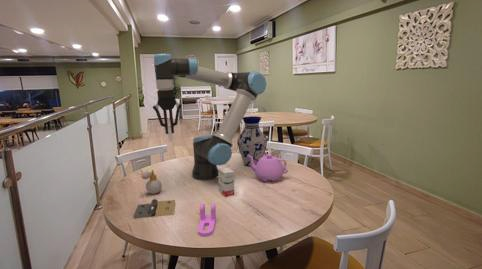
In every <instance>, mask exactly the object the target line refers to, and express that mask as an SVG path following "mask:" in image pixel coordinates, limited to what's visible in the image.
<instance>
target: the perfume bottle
mask: <svg viewBox="0 0 482 269" xmlns="http://www.w3.org/2000/svg"><path fill="white" fill-rule="evenodd" d="M141 178H142V179H143V180H148V179H149V180H148V181H147V182H146V184H145V190H146V192H148V194H153V195H155V194H158V193H160V191H161V190H162V188H163V184H162V181H161V180H160V179H159V178H157V175H156V174H155V172H154V170H153V169H152V170H151V172H150V171H144V172H142V173H141Z"/></svg>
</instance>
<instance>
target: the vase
mask: <svg viewBox="0 0 482 269" xmlns="http://www.w3.org/2000/svg"><path fill="white" fill-rule="evenodd" d="M261 120H262V117H261V116H244V117H243V119H242V121H243V123H244V129H243V131H242V132H241V133H240V134H239V135H238V138H237V139H236V143H237V147H238V151H239V154H240V157H241V159H242V162H243V165H244V166H245V167H249V166H251V161H250V158H249V157H248V156H247V155H250V156H252V157H253V161H254V164H255V165H256V164H257V162H258V161H259V159H260V158H261V157H263V156H265V153H266V149H267V146H268V138H267V136H266V135H265V134H264V133H263V131H262V130H261V129H260V122H261Z"/></svg>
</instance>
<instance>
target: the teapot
mask: <svg viewBox="0 0 482 269" xmlns="http://www.w3.org/2000/svg"><path fill="white" fill-rule="evenodd" d="M247 156H248V157H249V158H250V161H251V167H250V168H251V170H252V171H253V172H254V174H255V175H256V177H257V178H259V179H260V183H264V182H266V181H272V183H278V182H279V181H278V180H279V179H281V178H282V176H283V175H284V174H285V175H286V174H288V172H289V170H288V168H286V167H287V160H286V159H285V158H278V157H277V156H275V155H272V153H267V154H265V155H264V156H263V157H261V158H260V159H259V161H258V162H257V164H256V165H255V164H254V161H253V157H252V156H250V155H247ZM281 161H282V162H284V163H283V164H282V162H281Z"/></svg>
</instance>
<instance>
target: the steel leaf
mask: <svg viewBox="0 0 482 269" xmlns="http://www.w3.org/2000/svg"><path fill="white" fill-rule="evenodd" d="M158 202H159V200H158V199H152V200H151V203H144V204H143V203H142V204H138V205H137V207H136V209H135V212H134V213H133V216H132V217H133V219H140V218H141V219H142V218H151V217H153V216H156V209H157V205H158Z"/></svg>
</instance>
